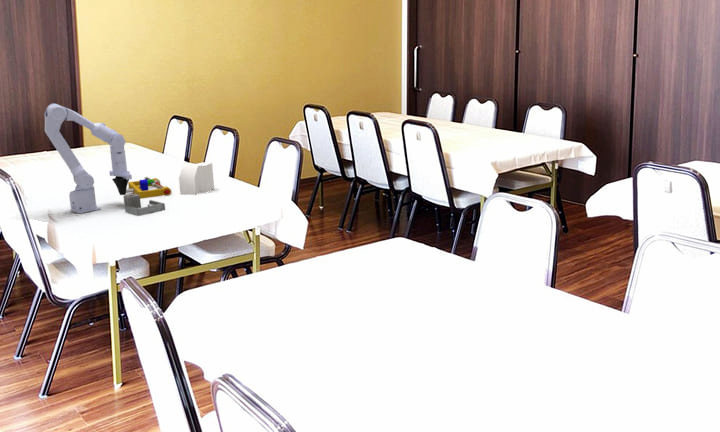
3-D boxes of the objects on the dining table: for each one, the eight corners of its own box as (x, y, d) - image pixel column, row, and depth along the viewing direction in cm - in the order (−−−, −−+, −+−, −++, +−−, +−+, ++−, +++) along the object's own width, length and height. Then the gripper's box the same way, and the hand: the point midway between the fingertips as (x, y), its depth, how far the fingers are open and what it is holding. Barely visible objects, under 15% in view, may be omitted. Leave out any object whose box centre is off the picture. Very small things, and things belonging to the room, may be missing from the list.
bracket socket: (139, 215, 304) (138, 208, 303) (125, 211, 311) (124, 204, 310) (166, 209, 312) (165, 202, 311) (151, 205, 319) (151, 198, 318)
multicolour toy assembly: (156, 170, 362) (171, 182, 336) (157, 183, 364) (172, 196, 338) (115, 175, 355) (127, 187, 329) (117, 189, 356) (129, 201, 330)
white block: (214, 189, 346) (212, 162, 343) (202, 195, 336) (200, 167, 333) (192, 188, 349) (190, 162, 346) (180, 194, 339) (177, 167, 336)
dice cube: (129, 209, 315) (127, 197, 313) (124, 207, 319) (123, 195, 317) (141, 207, 317) (139, 195, 316) (136, 205, 321) (135, 193, 320)
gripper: (136, 162, 317) (140, 195, 320) (118, 158, 326) (122, 190, 330) (121, 165, 312) (125, 198, 315) (103, 161, 322) (107, 193, 325)
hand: (122, 194), depth 322 cm, fingers closed
